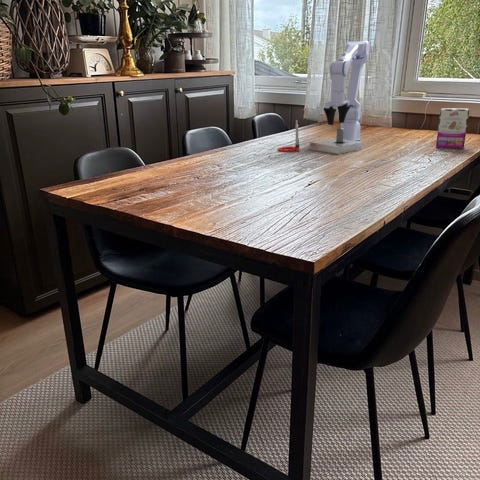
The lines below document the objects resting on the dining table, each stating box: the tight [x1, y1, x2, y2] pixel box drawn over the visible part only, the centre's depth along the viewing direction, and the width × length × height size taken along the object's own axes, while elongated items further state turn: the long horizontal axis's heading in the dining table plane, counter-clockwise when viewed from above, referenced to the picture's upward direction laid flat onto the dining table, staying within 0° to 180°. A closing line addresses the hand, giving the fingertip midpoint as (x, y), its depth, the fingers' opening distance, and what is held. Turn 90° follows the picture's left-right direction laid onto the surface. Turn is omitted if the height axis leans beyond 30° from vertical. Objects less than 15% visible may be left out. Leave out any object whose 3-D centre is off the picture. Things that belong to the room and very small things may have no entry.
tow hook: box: [277, 119, 300, 153], centre depth 201 cm, size 8×13×9 cm
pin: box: [335, 127, 344, 144], centre depth 201 cm, size 3×3×9 cm
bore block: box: [309, 137, 363, 155], centre depth 203 cm, size 16×16×3 cm
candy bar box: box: [435, 107, 470, 150], centre depth 199 cm, size 11×5×16 cm, turn 68°
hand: (336, 123), depth 203 cm, fingers open, 7 cm apart
